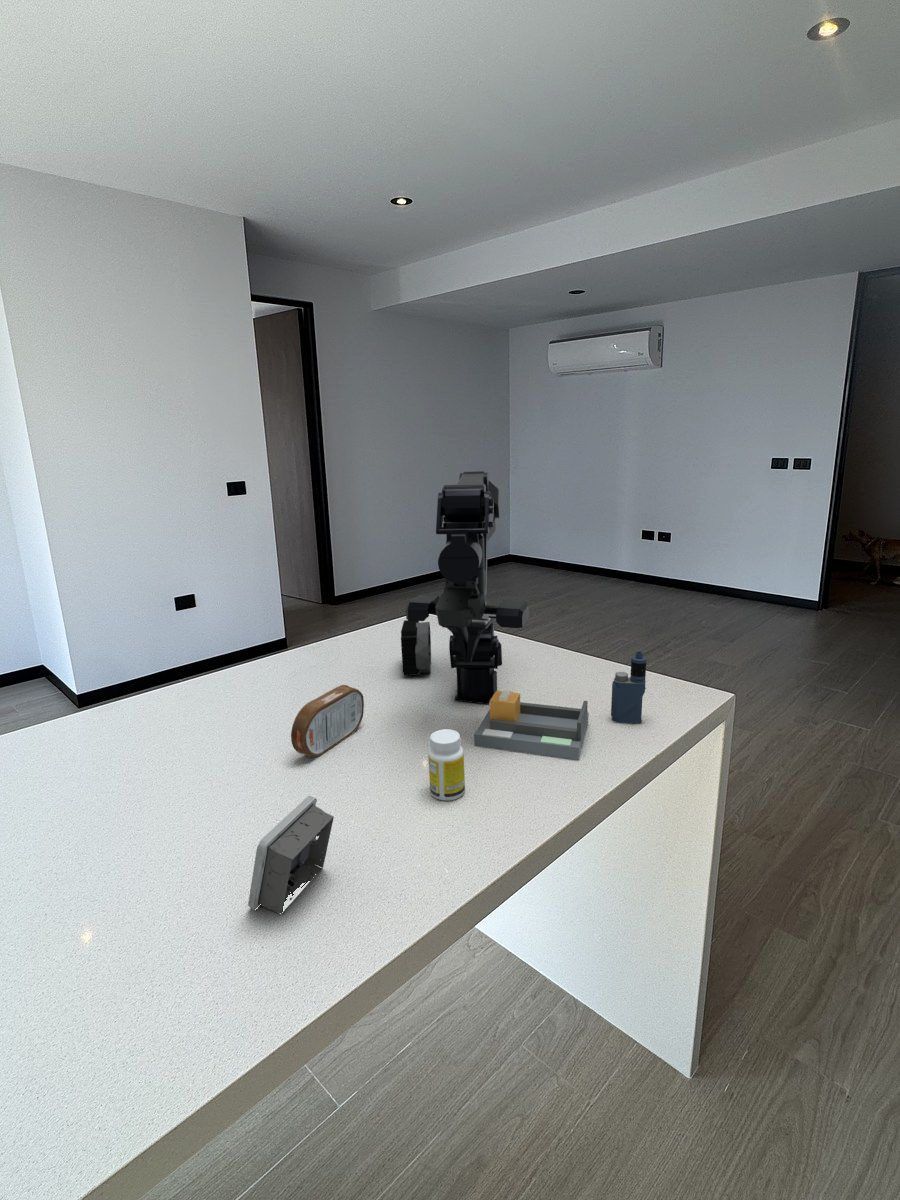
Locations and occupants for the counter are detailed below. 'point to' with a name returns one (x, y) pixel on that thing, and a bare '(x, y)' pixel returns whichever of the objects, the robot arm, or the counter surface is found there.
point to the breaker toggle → (505, 705)
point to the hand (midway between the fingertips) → (468, 661)
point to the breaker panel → (537, 731)
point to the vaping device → (629, 692)
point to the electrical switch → (290, 855)
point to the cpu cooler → (416, 647)
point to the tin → (327, 720)
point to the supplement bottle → (446, 765)
